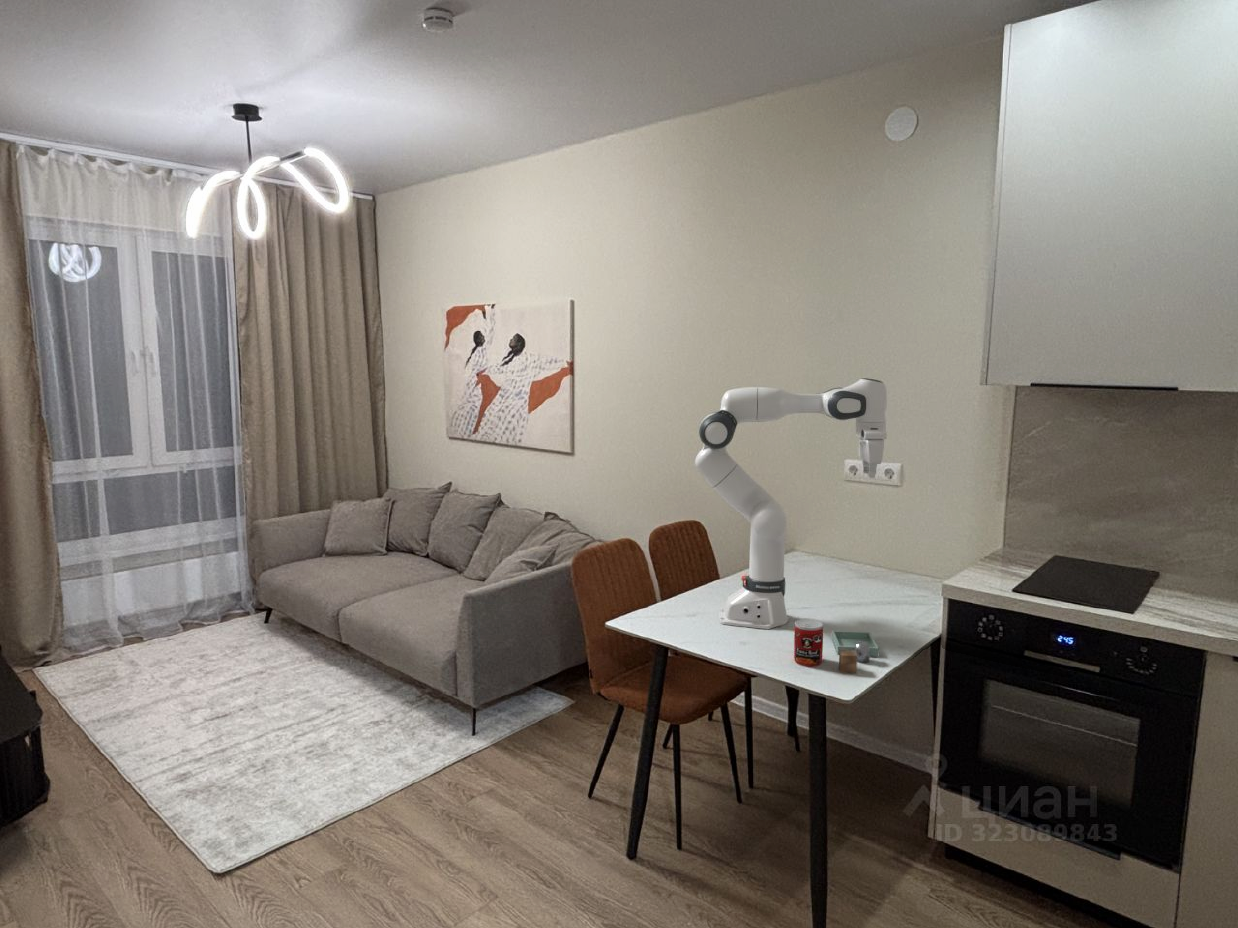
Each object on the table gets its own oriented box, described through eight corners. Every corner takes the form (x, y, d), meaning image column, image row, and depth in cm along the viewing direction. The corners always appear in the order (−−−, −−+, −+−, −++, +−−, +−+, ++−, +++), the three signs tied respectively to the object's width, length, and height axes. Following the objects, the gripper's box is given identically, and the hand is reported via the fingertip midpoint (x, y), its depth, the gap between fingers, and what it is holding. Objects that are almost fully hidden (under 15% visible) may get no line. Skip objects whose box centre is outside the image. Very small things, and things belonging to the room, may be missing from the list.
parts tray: (837, 654, 215) (837, 646, 214) (831, 638, 228) (831, 630, 227) (878, 656, 213) (878, 648, 213) (869, 640, 226) (870, 632, 226)
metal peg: (855, 663, 209) (856, 645, 208) (853, 657, 213) (853, 640, 212) (870, 663, 208) (871, 646, 208) (867, 658, 212) (868, 641, 212)
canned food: (792, 664, 208) (792, 626, 206) (796, 654, 215) (796, 617, 214) (820, 668, 205) (821, 629, 204) (823, 658, 213) (824, 620, 211)
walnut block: (840, 672, 202) (841, 655, 202) (838, 667, 206) (839, 649, 205) (856, 673, 202) (857, 655, 201) (853, 667, 206) (854, 650, 205)
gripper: (854, 428, 243) (852, 470, 245) (865, 433, 223) (864, 479, 225) (874, 428, 243) (873, 470, 244) (887, 433, 222) (885, 480, 224)
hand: (868, 475), depth 235 cm, fingers open, 8 cm apart
